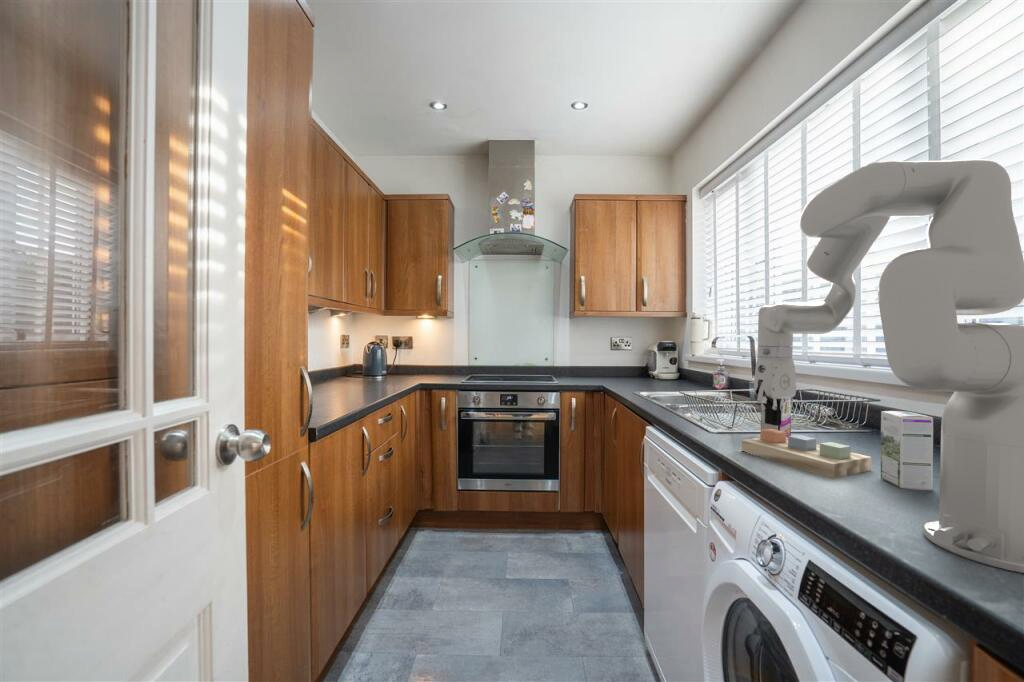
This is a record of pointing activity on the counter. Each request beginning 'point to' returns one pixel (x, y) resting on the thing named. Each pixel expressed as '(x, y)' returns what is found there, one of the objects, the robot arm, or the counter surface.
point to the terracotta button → (773, 436)
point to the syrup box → (907, 449)
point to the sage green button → (835, 450)
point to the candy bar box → (785, 419)
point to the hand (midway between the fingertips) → (772, 424)
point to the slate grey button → (802, 442)
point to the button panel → (808, 458)
